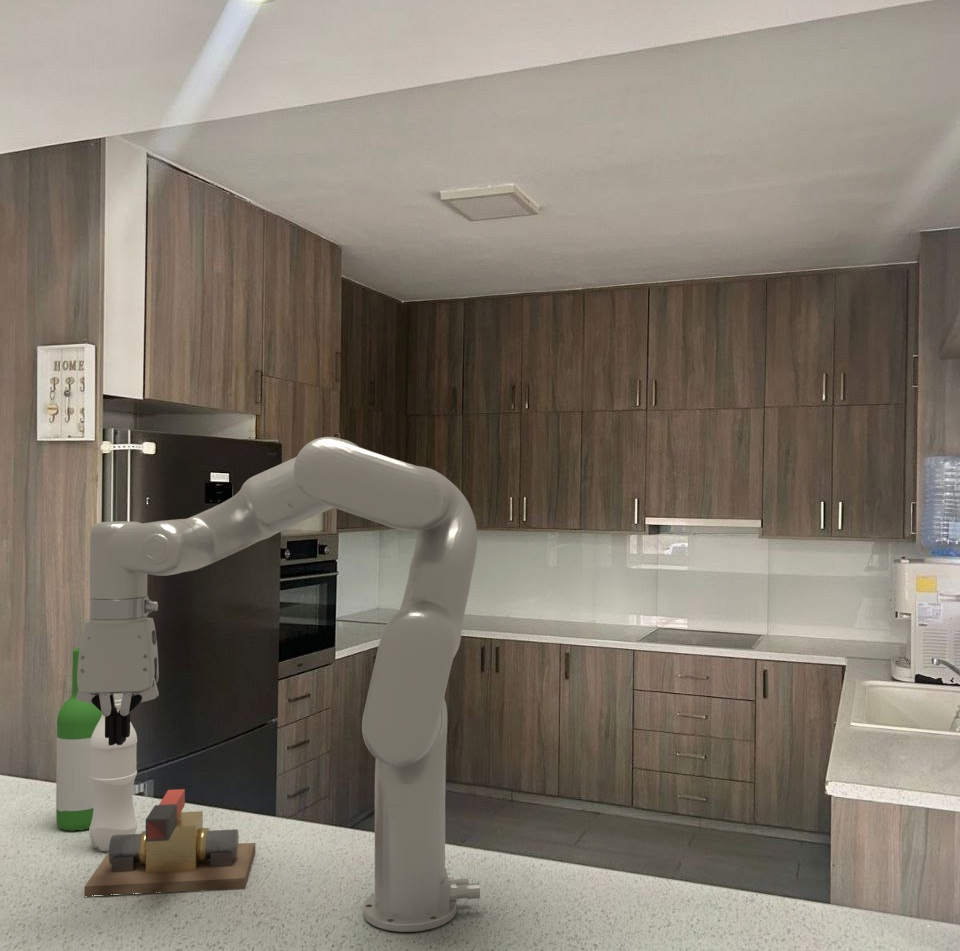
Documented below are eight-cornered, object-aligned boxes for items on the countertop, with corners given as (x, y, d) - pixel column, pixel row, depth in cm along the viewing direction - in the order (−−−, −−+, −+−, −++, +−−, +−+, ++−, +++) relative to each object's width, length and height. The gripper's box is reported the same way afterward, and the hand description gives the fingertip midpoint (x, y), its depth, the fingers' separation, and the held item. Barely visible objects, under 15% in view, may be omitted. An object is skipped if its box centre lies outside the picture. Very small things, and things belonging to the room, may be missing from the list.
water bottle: (144, 838, 156) (145, 685, 157) (124, 854, 149) (124, 694, 150) (102, 837, 157) (103, 684, 158) (80, 853, 150) (81, 693, 151)
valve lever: (186, 814, 143) (186, 787, 143) (168, 848, 129) (168, 818, 129) (166, 815, 143) (166, 788, 143) (145, 849, 129) (145, 819, 129)
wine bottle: (89, 834, 159) (90, 653, 159) (46, 831, 160) (47, 652, 161) (114, 818, 166) (115, 645, 167) (73, 816, 168) (74, 644, 168)
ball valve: (239, 852, 146) (239, 809, 146) (234, 868, 140) (234, 823, 140) (117, 858, 144) (117, 815, 144) (106, 875, 138) (106, 829, 138)
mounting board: (255, 852, 150) (255, 842, 150) (245, 888, 136) (245, 878, 136) (110, 859, 147) (110, 849, 147) (84, 897, 134) (84, 886, 134)
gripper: (179, 606, 137) (178, 734, 137) (70, 607, 135) (69, 737, 135) (168, 612, 130) (167, 748, 129) (53, 614, 128) (52, 752, 128)
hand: (117, 742), depth 132 cm, fingers closed
